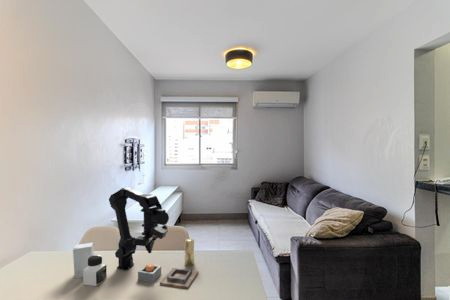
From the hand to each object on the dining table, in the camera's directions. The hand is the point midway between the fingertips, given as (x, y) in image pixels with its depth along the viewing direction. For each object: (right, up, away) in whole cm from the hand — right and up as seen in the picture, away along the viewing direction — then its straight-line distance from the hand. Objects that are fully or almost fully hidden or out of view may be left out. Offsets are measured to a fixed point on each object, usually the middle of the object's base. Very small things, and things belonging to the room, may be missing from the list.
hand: (149, 252), depth 122 cm
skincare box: (-33, -12, +2) cm, 36 cm away
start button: (0, -9, 0) cm, 9 cm away
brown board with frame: (+15, -12, -1) cm, 19 cm away
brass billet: (+18, -12, +13) cm, 25 cm away
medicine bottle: (-25, -12, -4) cm, 28 cm away
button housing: (0, -12, 0) cm, 12 cm away
